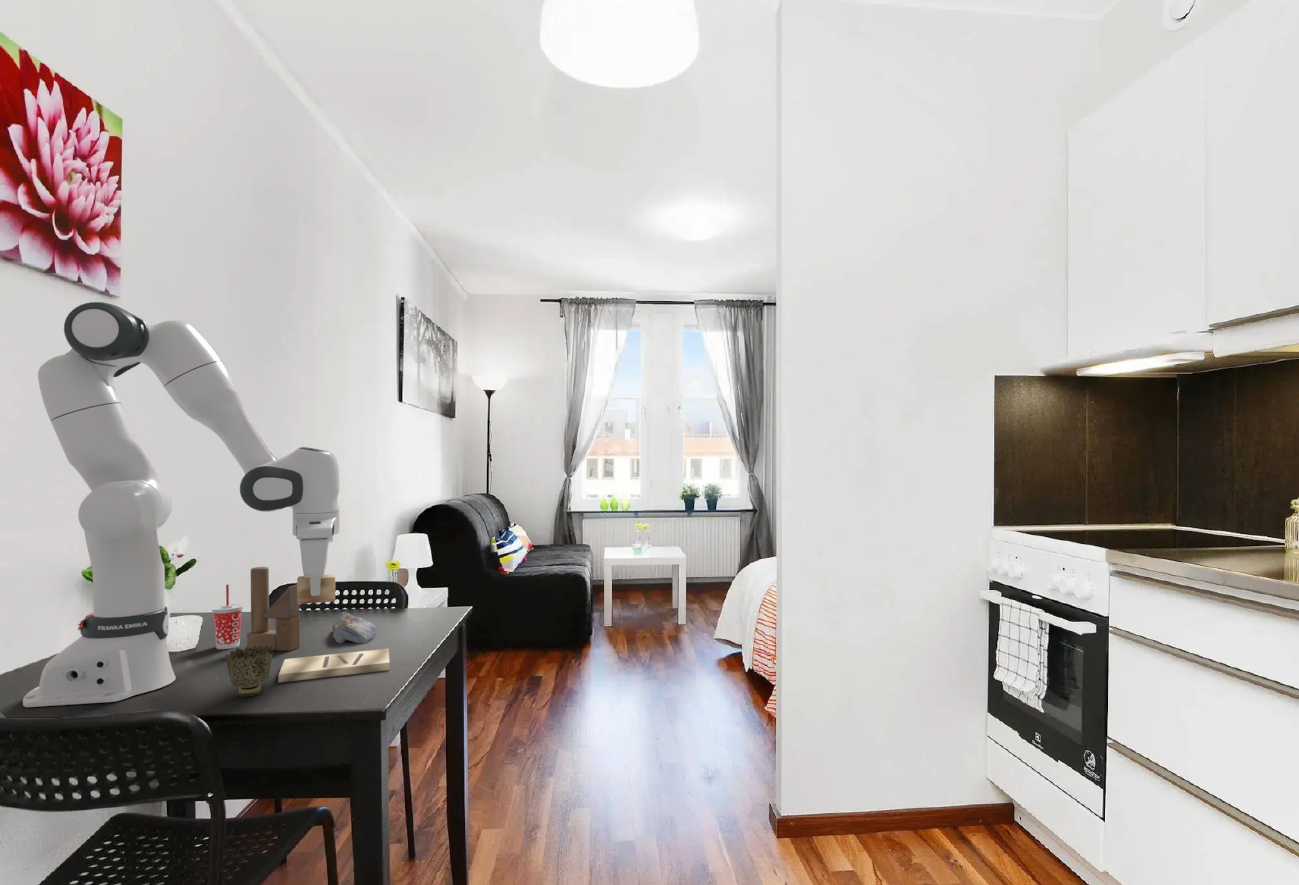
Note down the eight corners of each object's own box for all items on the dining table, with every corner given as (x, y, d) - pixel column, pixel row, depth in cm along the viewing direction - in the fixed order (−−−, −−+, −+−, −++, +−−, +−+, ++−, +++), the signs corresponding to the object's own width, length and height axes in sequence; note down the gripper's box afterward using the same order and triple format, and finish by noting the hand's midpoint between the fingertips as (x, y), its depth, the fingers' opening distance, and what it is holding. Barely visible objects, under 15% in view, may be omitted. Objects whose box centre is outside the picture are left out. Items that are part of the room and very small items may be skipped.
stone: (377, 633, 167) (332, 623, 164) (370, 654, 166) (325, 643, 163) (380, 616, 183) (340, 606, 180) (374, 634, 182) (333, 625, 180)
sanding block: (297, 604, 147) (297, 579, 147) (298, 600, 150) (298, 576, 150) (334, 601, 149) (334, 577, 149) (335, 597, 153) (335, 574, 153)
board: (278, 682, 138) (278, 674, 138) (285, 666, 148) (285, 659, 148) (389, 669, 145) (389, 662, 145) (388, 655, 156) (388, 648, 156)
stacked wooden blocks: (289, 651, 160) (289, 569, 160) (246, 649, 162) (245, 568, 162) (300, 646, 163) (299, 567, 163) (258, 645, 165) (257, 566, 165)
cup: (239, 688, 135) (238, 645, 135) (280, 686, 136) (279, 644, 136) (218, 702, 128) (217, 656, 128) (261, 700, 128) (261, 655, 128)
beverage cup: (220, 651, 160) (220, 588, 160) (206, 647, 164) (206, 585, 164) (248, 645, 165) (248, 583, 165) (234, 641, 169) (234, 581, 169)
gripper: (302, 521, 158) (302, 585, 158) (295, 531, 139) (295, 603, 139) (334, 520, 161) (334, 583, 161) (331, 529, 142) (331, 600, 142)
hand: (316, 592), depth 150 cm, fingers closed on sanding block, 4 cm apart
